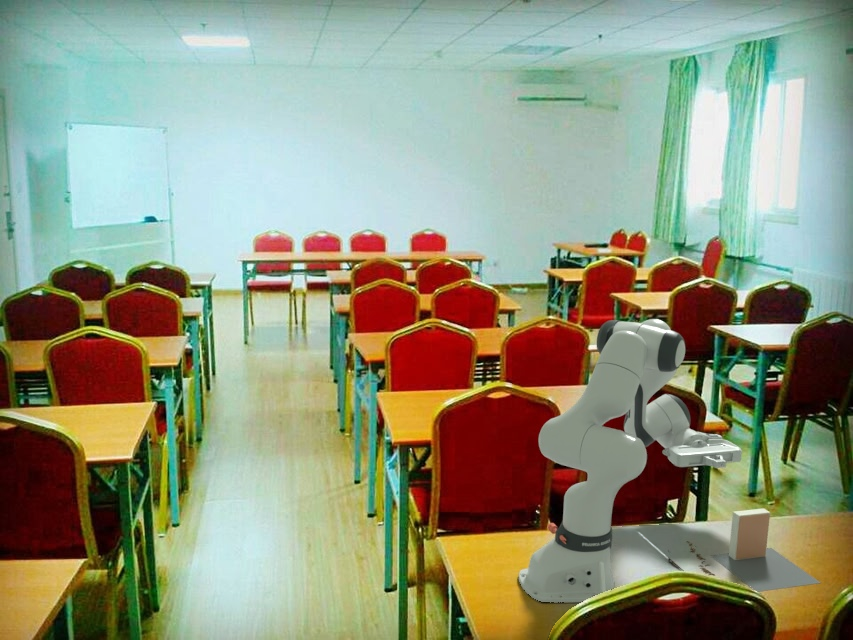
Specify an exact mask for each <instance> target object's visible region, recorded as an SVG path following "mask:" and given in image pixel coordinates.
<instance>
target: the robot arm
mask: <svg viewBox="0 0 853 640" xmlns="http://www.w3.org/2000/svg"><path fill="white" fill-rule="evenodd" d="M685 341H686V340H685V339H684V337H683V336H682V335H681V334H680V333H679V332H677V331H675V330H671V327H670V326H669V324H667V323H666V322H665V321H663V320H661V319H658V318H649V319H647V320H644V321H641V322H635V321H634V322H633V321H622V320H620V319H611V320H607V321H605V322H604V323H603V324H602V325H601V326H600V327H599V329H598V332H597V336H596V351H598V354H599V356H598V359H597V360H596V362H595V366H594V368H593V371H592V374H591V376H590V379H589V381H588V384H587V385H586V388H585V390H584V392H583V393H582V395H581V396H580V398H579V399H578V401H576V402H575V404H573V406H571V407H570V408H568V409H567V411H565V412H563V413H561V414H560V415H557V416H555V417H552V418H550V419H549V420H547V421H546V422H545V423H544V424H543V426H542V427H541V429H540V432H539V434H538V447H539V450H540V452H541V454H542V455H543V456H544V457H545V458H547V459H548V460H551V461H552V462H555V463H557V464H559V465H561V466H566V467H568V468H573V469H576V470H580V471H583V472H586V473H587V480H586V481H581V482H578V483H575V484H572V485H571V486H570V487H569V488H568V489H567V491H565V494H564V496H563V511H562V512H563V514H562V521H561V523H560V525H559V527H558V526H557V525H556V524H555V523H554V522H550V523H548V525H547V530H548V531H549V532H550V533H551V534H553V535H554V534H555V535H554V536H555V537H553V538H552V539H551V540H550V541H548V542H547V543H546V544H545V545H543V546H541V547H540V548H539V549H538V550H535V552H533V553H532V555H531V557H530V559H529V563H528V567H527V568H522V569H521V570H519V573H518V577H519V578H518V582H520V583H519V585H520V584H521V585H520V586H521V588H522V590H523V591H524V590H525V591H524V592H525V593H526V594H527V595H528V594H529V595H530V596H531V597H530V596H529V595H528V596H529V597H530V598H531V599H533V598H534V599H533V600H535V599H536V600H535V601H537V600H538V601H537V602H539V601H541V602H550V603H549V604H552V603H551V602H554V603H555V604H557V603H558V602H559V603H560V602H561V603H562V602H564V603H583V602H582V601H584V600H586V599H588V598H591V597H593V596H595V595H598V594H600V593H603V592H605V591H608V590H610V589H612V590H613V589H614V587H615V581H614V577H613V572H612V564H611V563H612V562H611V548H612V543H613V542H612V541H613V528H612V526H611V525H612V514H613V509H614V508H613V507H614V501H615V498H616V495H617V494H618V492H619V490H620V489H621V488H623V486H624V485H625V484H627V483H628V482H630V481H632V480H634V479H636V478H638V476H640V475H641V474H642V472H643V471H644V469H645V467H646V465H647V460H648V454H647V453H648V452H647V449H646V448H647V447H649V446H650V445H651V444H653V443H654V442H655V441H657V442H658V443H659V444H660V445H661V447H663V448H664V449H663V450H662V454H663V455H664V456H666V457H667V459H668V460H669V462H671V464H673V466H675V467H679V468H687V467H697V466H709V467H713V468H714V469H719V468H721V469H723V468H727V464H730V463H740V462H741V461H742V457H743V456H742V455H743V450H742V448H741V447H740V446H738V445H737V444H735V443H733V442H731V441H730V440H727V439H723V436H722V435H720V434H715V433H714V434H713V433H706V432H701V431H696V430H694V429H691V428H690V426H691V414H690V411H689V409H688V406H687V405H686V404H685V402H683V400H682V399H680V398H679V397H678V396H676V395H673V394H669V393H664V394H662V395H661V396H659V397H657V398H656V399H654V400H652V401H651V402H650V403H648V402H649V400H650V399H651V398H652V397H653V395H655V394H656V393H657V392H658V391H659V390H661V389H662V388H663V387H664V386H665V385H667V384H668V383H669V382H670V381H671V380H673V378H674V377H675V375H676V374H677V372H678V369H679V368H680V367H681V365H682V362H683V361H684V359H685V356H686V355H685V354H686V342H685ZM624 415H625V417H624V421H623V430H624V431H623V430H621V429H616V428H611V427H607V426H604V424H606V423H607V422H609V421H610V420H613V419H616V418H619V417H623V416H624ZM541 602H540V603H541ZM554 603H553V604H554Z"/></svg>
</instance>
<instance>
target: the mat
mask: <svg viewBox="0 0 853 640" xmlns="http://www.w3.org/2000/svg"><path fill="white" fill-rule="evenodd" d="M710 556H711V558H713V560H716V562H717V563H719V564H720V565H721V566H723V567H724V568H725V569H726V570H728V571H729V572H730V573H731V574H733V575H734V576H735V577H736V578H738V580H740V581H741V582H743V583H744V584H745V585H746V586H748V587H749V588H750V589H751V588H753V589H754V590H756V591H758V592H765V591H766V592H767V591H773V590H779V589H786V588H787V589H789V588H795V587H802V586H809V585H817V584H821V583H822V582H821V581H820V580H817V579H816V577H814V576H812V575H811V574H809V573H808V572H806V571H805V570H804V569H803V568H800V567H799V566H798V565H796V564H795V563H794V562H792V561H791V560H789V559H788V558H786V557H785V556H783V555H782V554H781V553H780V552H778V551H777V550H775V548H772V547H768V548H767V547H766V556H765V557H757V558H749V559H740V560H734V559H732V558H731V557H730V556H729V552H726V553H717V554H710ZM750 586H751V587H750ZM753 589H752V590H753ZM754 590H753V591H754ZM758 592H757V593H758Z"/></svg>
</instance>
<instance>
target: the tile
mask: <svg viewBox="0 0 853 640" xmlns="http://www.w3.org/2000/svg"><path fill="white" fill-rule="evenodd" d="M770 517H771V511H768V510H767V509H766V508H764V507H763V508H755V509H746V510H745V509H744V510H736V511H735V510H734V511H732V520H731V529H730V539H729V541H730V542H729V548H728V549H729V550H728V553H729V556H730V557H731V558H732V559H734V560H740V559H749V558H757V557H765V556H766V548H767V545H768V536H769V528H770V527H769V526H770V519H771V518H770Z"/></svg>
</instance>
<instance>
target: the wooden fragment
mask: <svg viewBox="0 0 853 640" xmlns="http://www.w3.org/2000/svg"><path fill="white" fill-rule="evenodd" d="M685 543H687V545H688V546H689V547H690V551H689V553H693V554H695V556H696V558H697V559H699V561H700V560H701V564H702V565H701V564H700V565H698V568H699V567H700V568H699V570H700V569H701V570H700V571H701V572H703V573H704V575H708V576H713V577H714V576H716V574H715V573H712V572H711V571H710V570H708V569H706V568H705V567H708V566H710V564H704V563H706V561H705V560H706V558H704V557H703V556H701V555H702V554H700V553H697V552H696V548H697V545H693V543H691V542H690V541H685ZM693 546H694V547H696V548H692V547H693ZM667 552H668V553H669V554H670V553H671V551H669V549H667ZM667 559H668V563H670V564H672V565H673V566H675V567H677V568H678V569H680V570H682V571H683V572H684V571H685V570H684V569H683V568H682V567H680V565H678V564H677V563H676V562H675V561H673V560H672V559H671V558H670V557H669V556H668V558H667ZM703 560H704V561H703Z"/></svg>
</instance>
